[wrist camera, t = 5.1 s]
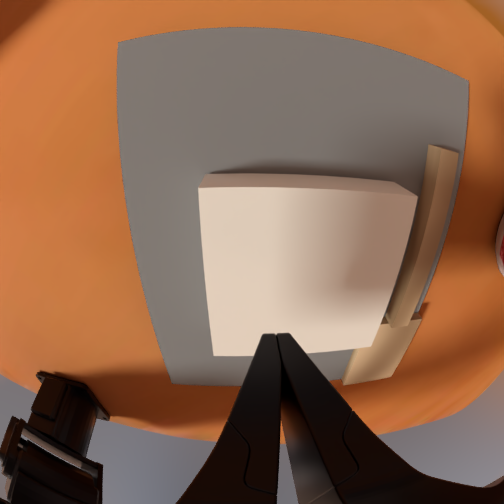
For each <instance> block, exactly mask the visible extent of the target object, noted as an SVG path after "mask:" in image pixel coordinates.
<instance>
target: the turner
mask: <svg viewBox="0 0 504 504" xmlns="http://www.w3.org/2000/svg"><path fill="white" fill-rule="evenodd" d="M458 155H459V153H457V152H454V151H451V150H448V149H445V148H441V147H437V146H434V145H430V144H428V152H427V160H426V166H425V173H424V179H423V184H422V190H421V195H420V200H419V205H418V209H417V214H416V218H415V223H414V227H413V231H412V235H411V239H410V242H409V246H408V250H407V253H406V257H405V260H404V263H403V267H402V270H401V273H400V276H399V279H398V282H397V285H396V288H395V291H394V294H393V297H392V300H391V302H390V305H389V308H388V310H387V313H386V316H385V317H383V319H382V321H381V324H380V326H379V329H378V331H377V334H376V336H375V338H374V341H373V343H372V345H371V347H364V348H356V349H354V350H353V352H352V355H351V357H350V360H349V362H348V365H347V367H346V369H345V372H344V374H343V377H342V382H343V385H349V384H356V383H362V382H367V381H373V380H378V379H383V378H388V377H391V376H392V374H393V373H394V371H395V369H396V368H397V366H398V364H399V362H400V361H401V359H402V357H403V355H404V353H405V352H406V350H407V348H408V346H409V344H410V342H411V340H412V338H413V336H414V334H415V332H416V330H417V328H418V326H419V324H420V322H421V320H422V318H421V316H420V315H419V313H414V310H415V308H416V306H417V303H418V301H419V298H420V296H421V293H422V291H423V288H424V286H425V283H426V280H427V278H428V275H429V272H430V269H431V266H432V264H433V261H434V258H435V255H436V251H437V248H438V245H439V242H440V238H441V235H442V231H443V228H444V224H445V220H446V216H447V212H448V208H449V204H450V199H451V195H452V190H453V185H454V180H455V174H456V168H457V162H458Z"/></svg>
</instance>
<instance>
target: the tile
mask: <svg viewBox="0 0 504 504" xmlns="http://www.w3.org/2000/svg"><path fill="white" fill-rule="evenodd" d="M198 194H199V211H200V226H201V240H202V252H203V264H204V275H205V285H206V295H207V305H208V314H209V322H210V331H211V339H212V347H213V354H214V356H254V354H255V351H256V349H257V346H258V343H259V341H260V338H261V336H262V334H264V333H275V334H277V333H290V334H291V335H292V336H293V338H294V339H295V340H296V341H297V343H298V344H299V345H300V346H301V348H302V349H303V350H304V351H305V352H306V353H318V352H329V351H339V350H348V349H356V348H364V347H371V345H372V343H373V341H374V338H375V336H376V334H377V331H378V329H379V326H380V324H381V321H382V319H383V316H384V313H385V311H386V308H387V305H388V302H389V300H390V297H391V294H392V291H393V288H394V285H395V282H396V279H397V276H398V273H399V270H400V266H401V263H402V260H403V256H404V253H405V249H406V245H407V242H408V238H409V234H410V230H411V226H412V222H413V217H414V213H415V208H416V204H417V199H418V196H416V195H415V194H413V193H412V192H410V191H408V190H407V189H405V188H403V187H402V186H400V185H398V184H397V183H395V182H391V181H382V180H372V179H361V178H349V177H336V176H320V175H299V174H257V173H235V174H205V176H204V178H203V180H202V182H201V184H200V185H199V187H198Z"/></svg>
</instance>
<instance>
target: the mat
mask: <svg viewBox="0 0 504 504" xmlns="http://www.w3.org/2000/svg"><path fill="white" fill-rule="evenodd" d="M468 99H469V81H467V80H465V79H463V78H461V77H459V76H457V75H455V74H453V73H451V72H449V71H447V70H444V69H442V68H440V67H438V66H435V65H433V64H430V63H428V62H425V61H423V60H420V59H417V58H415V57H412V56H409V55H406V54H403V53H400V52H397V51H394V50H391V49H388V48H384V47H381V46H377V45H373V44H370V43H366V42H362V41H357V40H353V39H348V38H344V37H339V36H333V35H328V34H321V33H315V32H307V31H299V30H289V29H277V28H256V27H227V28H207V29H194V30H184V31H176V32H169V33H162V34H156V35H150V36H145V37H140V38H135V39H131V40H126V41H122V42H118V54H117V114H118V133H119V147H120V158H121V168H122V177H123V185H124V192H125V199H126V206H127V213H128V219H129V225H130V230H131V236H132V241H133V246H134V251H135V256H136V261H137V265H138V270H139V274H140V278H141V283H142V287H143V291H144V295H145V299H146V303H147V306H148V310H149V314H150V317H151V321H152V324H153V328H154V331H155V334H156V338H157V341H158V344H159V347H160V350H161V353H162V356H163V359H164V362H165V365H166V368H167V371H168V374H169V377H170V379H171V382H172V384H183V385H202V386H242V384H243V381H244V379H245V376H246V374H247V371H248V369H249V366H250V364H251V361H252V359H253V356H214V354H213V347H212V339H211V331H210V322H209V314H208V305H207V295H206V285H205V275H204V264H203V252H202V240H201V226H200V211H199V194H198V187H199V185H200V184H201V182H202V180H203V178H204V176H205V174H235V173H257V174H299V175H320V176H336V177H349V178H361V179H372V180H382V181H391V182H395V183H397V184H398V185H400V186H402V187H403V188H405V189H407V190H408V191H410V192H412V193H413V194H415V195H416V196H418V199H417V204H416V208H415V213H414V217H413V222H412V226H411V230H410V234H409V238H408V242H407V245H406V249H405V253H404V256H403V260H402V263H401V266H400V270H399V273H398V276H397V279H396V282H395V285H394V288H393V291H392V294H391V297H390V300H389V302H388V305H387V308H386V311H385V313H384V316H383V317H385V316H386V313H387V310H388V308H389V305H390V302H391V300H392V297H393V294H394V291H395V288H396V285H397V282H398V279H399V276H400V273H401V270H402V267H403V263H404V260H405V257H406V253H407V250H408V246H409V242H410V239H411V235H412V231H413V227H414V223H415V218H416V214H417V209H418V205H419V200H420V195H421V190H422V184H423V179H424V173H425V166H426V160H427V152H428V144H430V145H434V146H437V147H441V148H445V149H448V150H451V151H454V152H457V153H459V155H458V162H457V168H456V174H455V180H454V185H453V190H452V195H451V199H450V204H449V208H448V212H447V216H446V220H445V224H444V228H443V231H442V235H441V238H440V242H439V245H438V248H437V251H436V255H435V258H434V261H433V264H432V266H431V269H430V272H429V275H428V278H427V280H426V283H425V286H424V288H423V291H422V293H421V296H420V298H419V301H418V303H417V306H416V308H415V310H414V313H418V312H419V309H420V307H421V305H422V302H423V300H424V298H425V295H426V293H427V290H428V288H429V285H430V282H431V280H432V277H433V274H434V272H435V269H436V266H437V263H438V260H439V257H440V254H441V251H442V248H443V245H444V242H445V238H446V235H447V231H448V228H449V224H450V220H451V216H452V213H453V208H454V204H455V200H456V195H457V191H458V186H459V181H460V175H461V169H462V163H463V156H464V149H465V141H466V131H467V119H468ZM353 350H354V349H348V350H339V351H329V352H318V353H306V354H307V355H308V356H309V357H310V359H311V360H312V361H313V362H314V364H315V365H316V366H317V367H318V368H319V370H320V371H321V372H322V373H323V375H324V376H325V377H326V378H327V379H328V381H329V380H337V379H342V377H343V374H344V372H345V369H346V367H347V365H348V362H349V360H350V357H351V355H352V352H353Z"/></svg>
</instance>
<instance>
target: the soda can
mask: <svg viewBox="0 0 504 504" xmlns="http://www.w3.org/2000/svg"><path fill="white" fill-rule="evenodd" d="M495 253H496V258H497V264H498V268H499V271H500V272H501V274H502V275H503V276H504V214H503V217H502V219H501V222H500V225H499V228H498V232H497V237H496V244H495Z"/></svg>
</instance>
